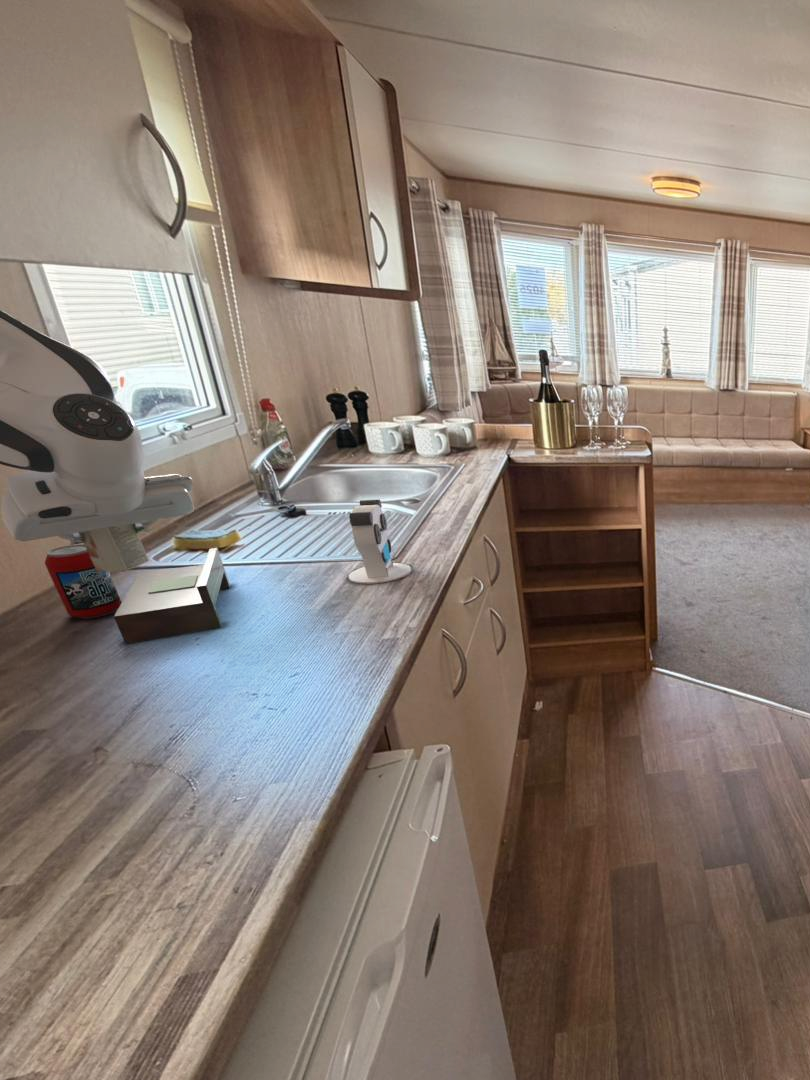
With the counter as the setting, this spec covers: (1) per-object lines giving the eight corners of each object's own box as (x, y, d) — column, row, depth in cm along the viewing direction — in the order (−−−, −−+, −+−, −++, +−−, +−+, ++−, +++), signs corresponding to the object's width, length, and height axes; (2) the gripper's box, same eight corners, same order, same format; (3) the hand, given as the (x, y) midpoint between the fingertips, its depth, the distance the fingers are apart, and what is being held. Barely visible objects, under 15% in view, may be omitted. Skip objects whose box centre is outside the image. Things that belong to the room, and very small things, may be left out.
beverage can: (88, 623, 110) (59, 558, 105) (59, 617, 111) (29, 553, 106) (134, 607, 116) (108, 545, 111) (106, 602, 117) (79, 541, 112)
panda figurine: (406, 581, 132) (391, 512, 126) (342, 587, 128) (323, 515, 122) (414, 562, 143) (400, 497, 136) (355, 566, 139) (338, 499, 132)
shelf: (125, 644, 104) (106, 599, 101) (147, 597, 120) (131, 557, 117) (221, 627, 111) (206, 585, 108) (230, 585, 127) (217, 547, 124)
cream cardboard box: (121, 561, 106) (97, 502, 102) (150, 561, 107) (127, 503, 103) (93, 572, 101) (66, 511, 97) (123, 572, 102) (98, 512, 98)
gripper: (183, 457, 102) (182, 505, 110) (-14, 478, 86) (3, 533, 95) (202, 489, 101) (200, 535, 110) (9, 516, 85) (24, 568, 94)
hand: (108, 534), depth 102 cm, fingers closed on cream cardboard box, 6 cm apart
